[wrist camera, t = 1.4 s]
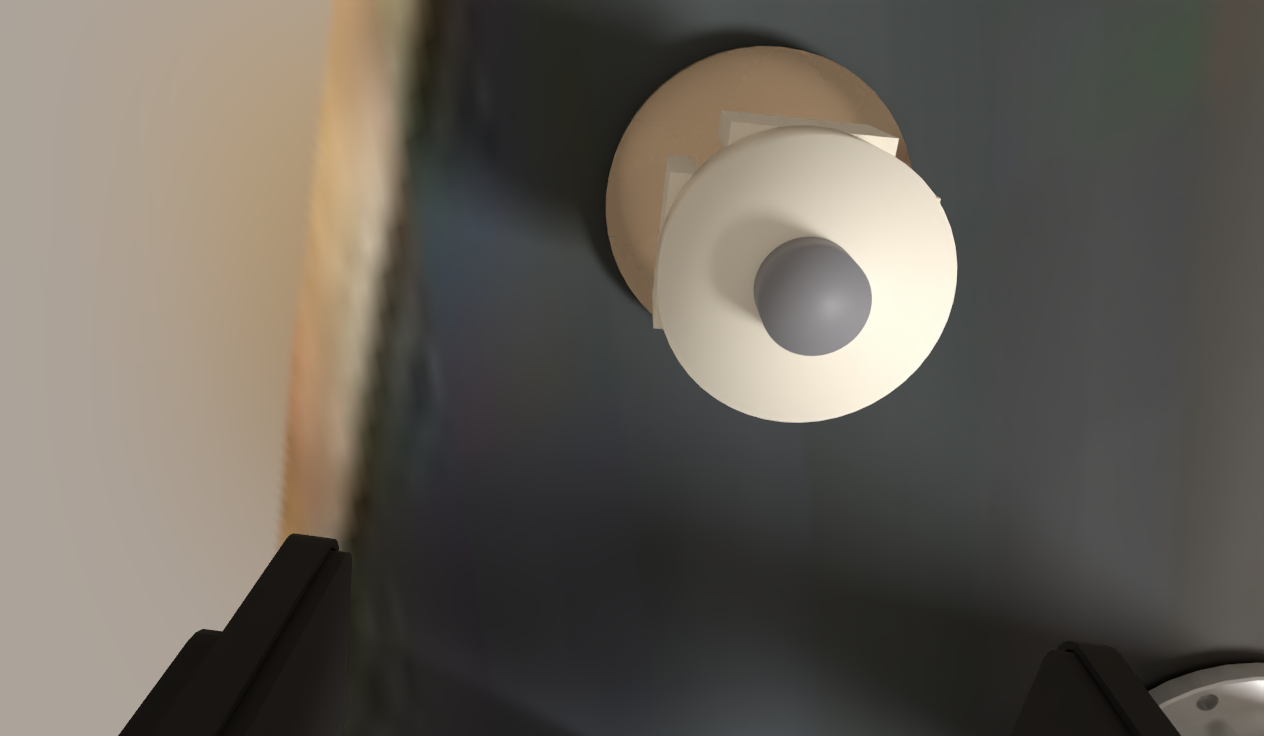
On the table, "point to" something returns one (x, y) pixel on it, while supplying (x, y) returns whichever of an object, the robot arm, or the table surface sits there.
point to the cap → (801, 267)
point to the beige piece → (689, 127)
